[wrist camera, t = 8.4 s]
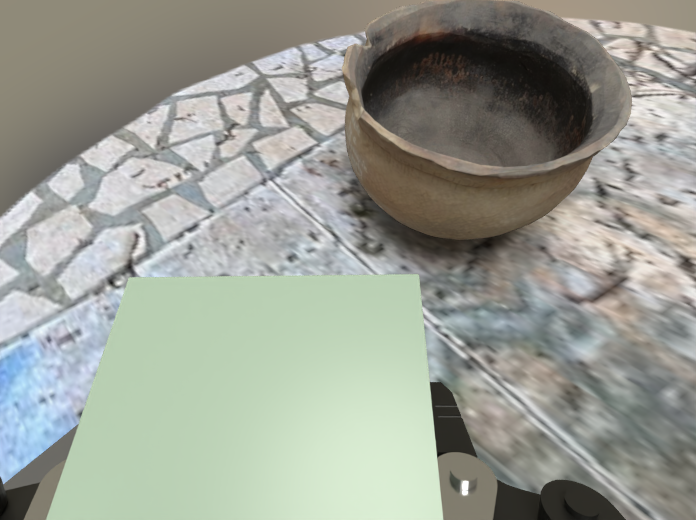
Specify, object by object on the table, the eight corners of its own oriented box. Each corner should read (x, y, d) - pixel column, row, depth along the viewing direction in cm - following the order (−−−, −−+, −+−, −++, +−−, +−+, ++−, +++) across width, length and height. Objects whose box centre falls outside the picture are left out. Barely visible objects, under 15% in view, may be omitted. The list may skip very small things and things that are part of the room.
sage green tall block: (254, 380, 16) (129, 277, 8) (389, 380, 16) (418, 274, 7) (232, 550, 13) (-16, 698, 5) (398, 553, 13) (462, 715, 4)
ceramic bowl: (344, 128, 47) (336, -3, 34) (514, 117, 47) (573, -19, 34) (354, 285, 36) (349, 179, 23) (577, 271, 36) (701, 156, 23)
